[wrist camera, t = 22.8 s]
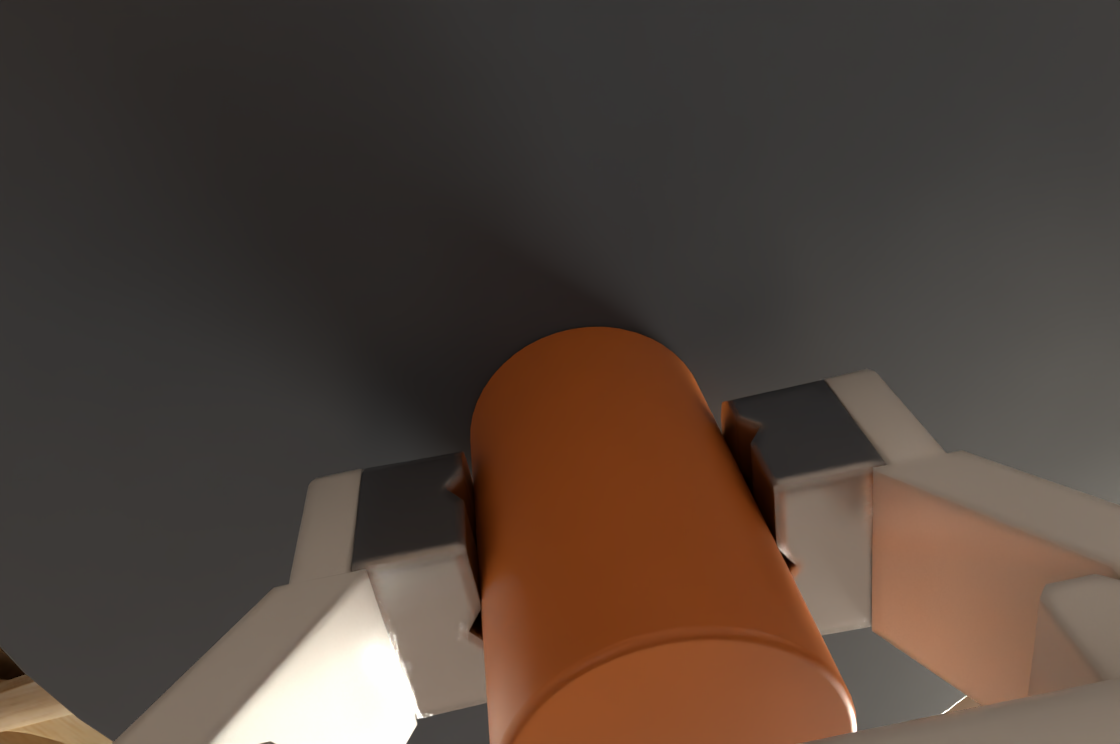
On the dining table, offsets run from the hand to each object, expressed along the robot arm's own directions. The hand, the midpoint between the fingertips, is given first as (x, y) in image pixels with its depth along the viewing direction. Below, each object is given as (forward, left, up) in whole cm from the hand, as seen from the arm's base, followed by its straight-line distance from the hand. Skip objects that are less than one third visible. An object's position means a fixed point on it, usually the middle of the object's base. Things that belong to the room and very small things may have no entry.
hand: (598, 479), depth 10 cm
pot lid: (0, 0, -2) cm, 2 cm away
